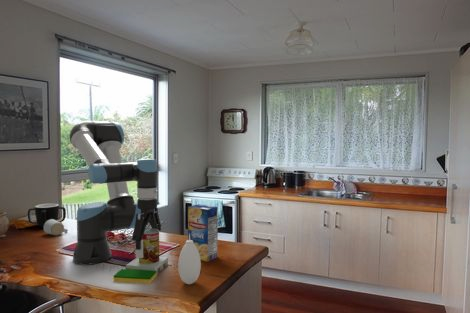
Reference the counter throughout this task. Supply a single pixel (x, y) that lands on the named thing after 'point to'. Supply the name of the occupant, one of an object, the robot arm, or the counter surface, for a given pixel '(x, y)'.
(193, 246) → the sauce bottle
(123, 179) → the robot arm
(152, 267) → the block
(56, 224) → the ceramic mug
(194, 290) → the counter surface
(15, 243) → the counter surface
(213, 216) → the beverage box
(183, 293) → the counter surface
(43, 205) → the mug
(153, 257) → the canned food
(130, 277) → the dish sponge
